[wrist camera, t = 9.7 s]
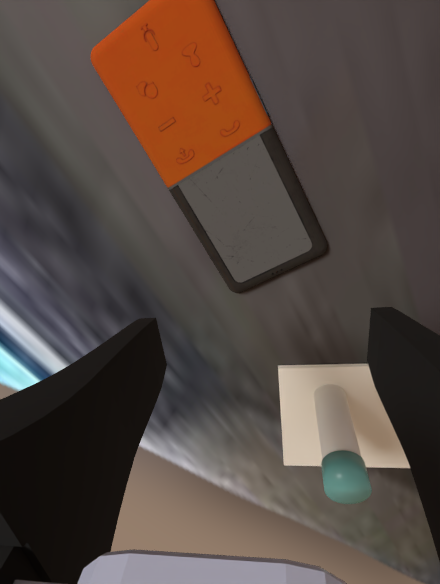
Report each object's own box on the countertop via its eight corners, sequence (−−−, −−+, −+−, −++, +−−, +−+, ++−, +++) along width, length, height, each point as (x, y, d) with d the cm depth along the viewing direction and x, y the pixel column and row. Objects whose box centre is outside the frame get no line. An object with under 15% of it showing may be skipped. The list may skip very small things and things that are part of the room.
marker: (347, 382, 24) (371, 475, 18) (347, 408, 25) (371, 504, 19) (311, 383, 24) (323, 474, 18) (313, 408, 25) (325, 503, 19)
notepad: (499, 360, 22) (502, 363, 22) (469, 466, 26) (471, 469, 26) (278, 365, 24) (278, 368, 24) (283, 462, 29) (284, 465, 28)
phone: (194, -45, 15) (333, 253, 20) (199, -33, 16) (329, 246, 21) (80, 51, 17) (232, 299, 22) (92, 56, 18) (234, 290, 23)
